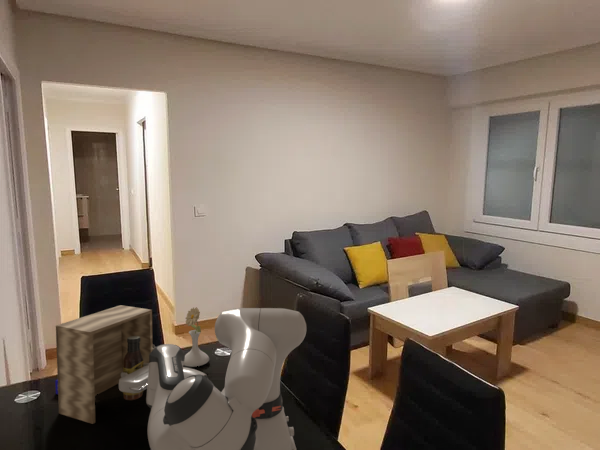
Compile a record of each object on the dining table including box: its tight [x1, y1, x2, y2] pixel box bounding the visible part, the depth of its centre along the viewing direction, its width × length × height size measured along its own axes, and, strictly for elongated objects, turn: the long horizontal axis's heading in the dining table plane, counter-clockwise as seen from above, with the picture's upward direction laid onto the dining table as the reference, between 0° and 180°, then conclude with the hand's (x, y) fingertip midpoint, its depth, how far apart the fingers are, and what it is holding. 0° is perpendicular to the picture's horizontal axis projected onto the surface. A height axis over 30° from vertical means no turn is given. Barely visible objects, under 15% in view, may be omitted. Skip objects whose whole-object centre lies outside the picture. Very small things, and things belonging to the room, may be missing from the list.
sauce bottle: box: [122, 336, 144, 401], centre depth 133 cm, size 6×6×20 cm
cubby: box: [55, 304, 153, 425], centre depth 138 cm, size 15×26×29 cm, turn 157°
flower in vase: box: [183, 307, 210, 368], centre depth 167 cm, size 13×11×25 cm
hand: (131, 369), depth 134 cm, fingers closed on sauce bottle, 6 cm apart
